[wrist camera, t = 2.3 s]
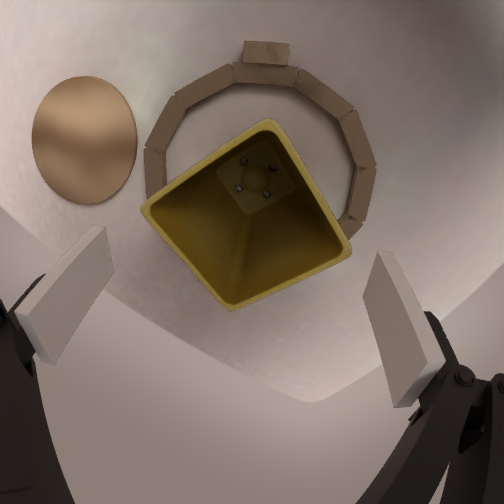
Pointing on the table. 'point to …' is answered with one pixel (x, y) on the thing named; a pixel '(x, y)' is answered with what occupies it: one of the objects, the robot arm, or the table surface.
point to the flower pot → (248, 218)
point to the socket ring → (275, 73)
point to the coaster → (84, 139)
